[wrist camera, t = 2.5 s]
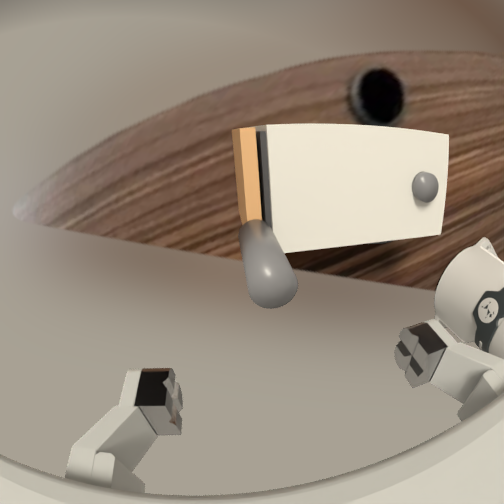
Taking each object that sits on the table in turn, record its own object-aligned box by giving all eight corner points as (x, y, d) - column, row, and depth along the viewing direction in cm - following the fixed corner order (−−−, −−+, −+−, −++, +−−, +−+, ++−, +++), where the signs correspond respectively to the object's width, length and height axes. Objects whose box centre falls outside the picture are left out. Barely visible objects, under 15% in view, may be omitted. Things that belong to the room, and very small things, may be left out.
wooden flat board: (248, 128, 27) (293, 124, 11) (254, 208, 31) (297, 308, 14) (224, 130, 27) (233, 127, 10) (232, 210, 31) (250, 314, 14)
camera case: (380, 127, 29) (455, 135, 17) (378, 207, 33) (443, 247, 21) (244, 127, 28) (262, 125, 16) (251, 217, 32) (271, 272, 20)
